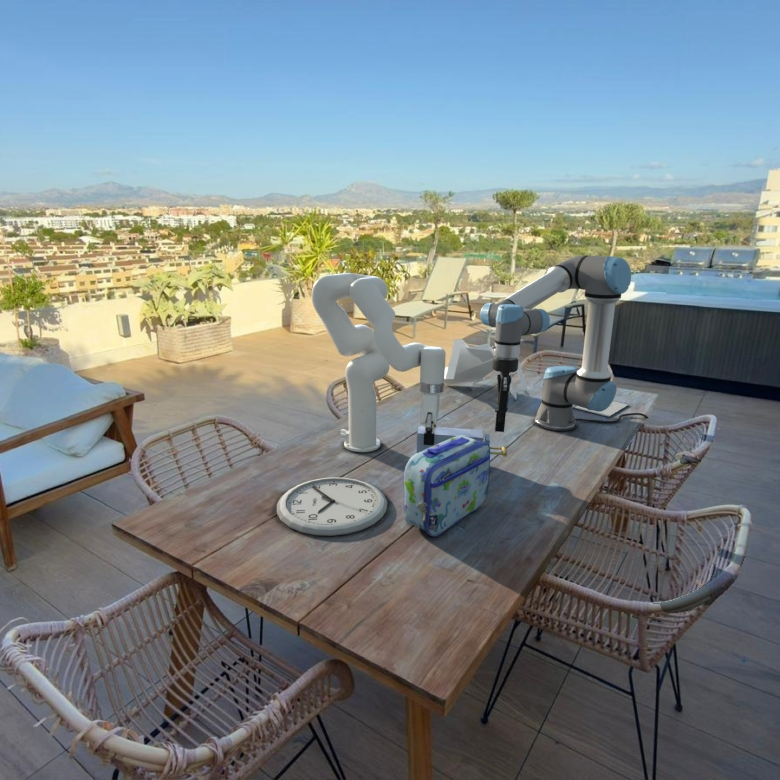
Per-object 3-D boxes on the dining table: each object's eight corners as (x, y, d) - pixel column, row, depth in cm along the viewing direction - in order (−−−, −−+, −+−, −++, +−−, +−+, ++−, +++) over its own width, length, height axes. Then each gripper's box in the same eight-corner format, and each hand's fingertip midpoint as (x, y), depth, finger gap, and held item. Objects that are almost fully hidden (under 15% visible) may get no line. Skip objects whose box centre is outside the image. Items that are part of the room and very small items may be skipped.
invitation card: (608, 416, 214) (573, 407, 224) (608, 416, 214) (573, 408, 224) (628, 404, 229) (594, 396, 238) (628, 405, 229) (594, 397, 238)
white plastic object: (461, 429, 252) (437, 405, 227) (444, 352, 274) (420, 323, 250) (535, 404, 240) (518, 377, 215) (510, 326, 262) (492, 293, 237)
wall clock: (392, 527, 129) (268, 531, 127) (391, 533, 130) (269, 537, 127) (383, 473, 158) (282, 475, 155) (383, 478, 158) (282, 480, 156)
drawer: (504, 462, 169) (507, 435, 166) (505, 470, 163) (508, 441, 161) (427, 456, 172) (428, 429, 169) (426, 463, 167) (427, 435, 164)
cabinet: (480, 462, 170) (483, 430, 167) (481, 471, 164) (483, 437, 161) (417, 457, 173) (419, 425, 170) (416, 466, 167) (417, 433, 163)
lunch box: (429, 545, 125) (432, 466, 119) (397, 527, 132) (398, 451, 126) (492, 507, 143) (498, 436, 136) (460, 493, 150) (465, 425, 144)
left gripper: (422, 378, 171) (420, 429, 176) (417, 394, 154) (415, 450, 159) (445, 379, 170) (442, 431, 175) (442, 396, 153) (439, 452, 158)
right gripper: (492, 351, 162) (486, 422, 169) (494, 361, 150) (487, 437, 157) (517, 353, 161) (510, 424, 168) (520, 363, 149) (513, 439, 156)
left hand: (429, 439), depth 167 cm, fingers closed on cabinet, 6 cm apart
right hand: (499, 430), depth 163 cm, fingers closed
